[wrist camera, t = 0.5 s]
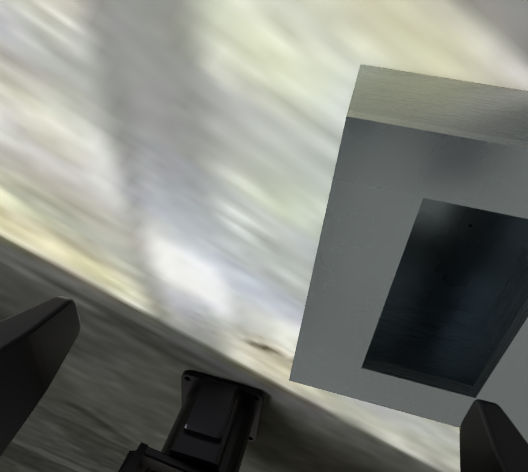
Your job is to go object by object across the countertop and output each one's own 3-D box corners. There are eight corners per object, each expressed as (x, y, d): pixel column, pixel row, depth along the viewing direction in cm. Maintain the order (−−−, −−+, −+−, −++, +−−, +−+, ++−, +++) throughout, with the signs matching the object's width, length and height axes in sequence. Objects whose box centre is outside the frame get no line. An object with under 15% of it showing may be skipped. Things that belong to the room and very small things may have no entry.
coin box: (490, 320, 23) (525, 445, 17) (313, 278, 25) (289, 380, 19) (615, 105, 16) (745, 187, 10) (360, 64, 18) (346, 116, 12)
